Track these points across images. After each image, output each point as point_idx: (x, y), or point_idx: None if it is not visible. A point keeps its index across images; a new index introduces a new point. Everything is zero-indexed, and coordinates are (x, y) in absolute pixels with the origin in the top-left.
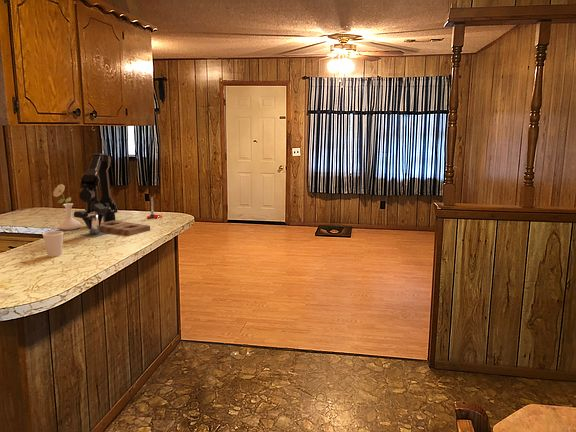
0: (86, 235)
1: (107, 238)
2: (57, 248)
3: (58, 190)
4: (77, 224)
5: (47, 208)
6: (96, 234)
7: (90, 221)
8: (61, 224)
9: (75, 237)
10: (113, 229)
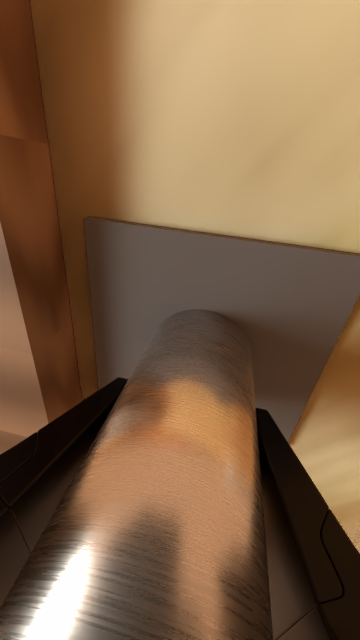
0: (279, 389)
1: (316, 20)
2: None
3: None
4: None
5: None
6: (222, 318)
7: (313, 553)
8: None
9: (339, 441)
10: (13, 203)
